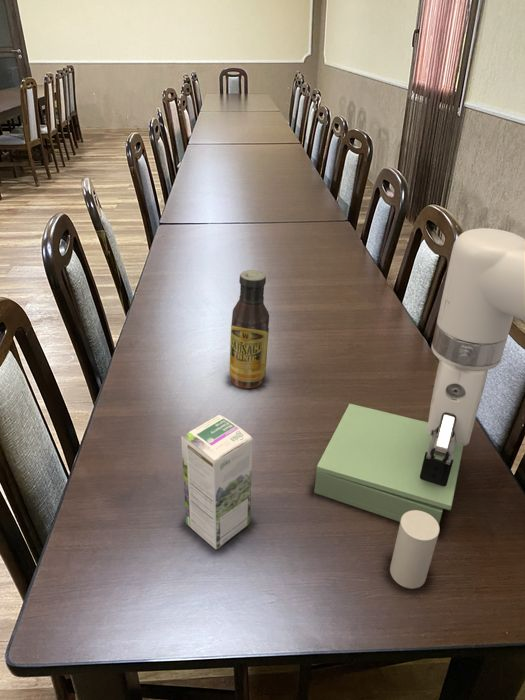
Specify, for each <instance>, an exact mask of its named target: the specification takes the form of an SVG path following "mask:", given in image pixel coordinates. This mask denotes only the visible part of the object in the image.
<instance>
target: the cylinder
mask: <svg viewBox="0 0 525 700" xmlns="http://www.w3.org/2000/svg"><path fill="white" fill-rule="evenodd" d="M440 531H441V530H440V524H439V525H438V523H437V521H436V520H435V519H434V518H433V517H432V516H431V515H429V514H428V513H426V512H423V511H418V510H412V511H408V512H406V513H405V514H404V515H403V516H402V518H401V521H400V522H399V526H398V530H397V534H396V540H395V543H394V547H393V553H392V557H391V561H390V566H389V573H390V575H391V578H392V579H393V580H394V581H395V583H397V584H398V585H400V586H401V587H403V588H406V589H419V588H421V587H422V586H424V584H425V582H426V580H427V577H428V573H429V570H430V566H431V563H432V559H433V555H434V552H435V548H436V545H437V541H438V538H439V534H440Z"/></svg>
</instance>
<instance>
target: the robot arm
mask: <svg viewBox="0 0 525 700" xmlns="http://www.w3.org/2000/svg"><path fill="white" fill-rule="evenodd" d="M514 318H516V319H518V320H521V321H523V322H525V238H524V237H523V236H520V235H519V234H516V233H513V232H511V231H507V230H502V229H499V228H488V227H487V228H485V227H482V228H480V227H479V228H473V229H468V230H464V231H463V232H462V233H460V234H459V235H458V236H457V237H456V239H455V241H454V242H453V246H452V250H451V255H450V259H449V263H448V267H447V272H446V277H445V281H444V286H443V290H442V296H441V300H440V305H439V309H438V314H437V319H436V323H435V326H434V331H433V338H432V342H431V347H430V348H431V352H432V353H433V355H434V356H435V357H436V358H437V359H438V360H439V361H438V364H437V365H438V366H437V369H436V375H435V380H434V385H433V390H432V395H431V400H430V407H429V411H428V413H429V414H428V420H427V422H428V427H427V433H428V434H429V436H431V435H432V437H431V441H430V445H429V449H428V452H425V456H424V460H423V465H422V469H421V473H420V479H421V480H424V481H428V482H431V483H434V484H437V485H440V486H446V485H447V482H448V478H449V475H450V471H451V467H452V464H453V459H452V456H453V452H454V448H455V443H456V441H457V443H458V444H461V445H463V447H466V446H467V445H469V444H470V440H471V437H472V433H473V429H474V426H475V422H476V418H477V414H478V411H479V407H480V404H481V400H482V397H483V393H484V390H485V385H486V382H487V377H488V372H489V370H492V369H494V368H496V367H497V366H499V365H500V364H501V361H502V357H503V354H504V351H505V349H506V348H505V347H506V344H507V341H508V337H509V334H510V330H511V327H512V324H513V320H514ZM439 427H440V428H441V429H440V433H438V430H439ZM452 431H453V435H452V437H451V432H452ZM436 438H438V441H437V444H436V448H434V444H435V440H436ZM449 442H451V443H450V447H449V451H447V448H448V444H449ZM433 448H434V449H433Z"/></svg>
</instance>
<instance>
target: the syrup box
mask: <svg viewBox="0 0 525 700" xmlns="http://www.w3.org/2000/svg"><path fill="white" fill-rule="evenodd" d="M180 441H181V442H180V443H181V457H182V475H183V476H182V477H183V493H184V511H185V513H184V514H185V524H186V525H187V526H188V527H190V529H192V530H193V531H194V532H195V533H196V534H197V535H198V536H199V537H200V538H202V539H203V540H204V541H205V542H206V543H207V544H208V545H210V546H211V547H212V548H213V549H215V550H216V551H217V550H219V549H221V548H222V547H223V546H224V545H226V543H228V542H229V541H230V540H232V539H233V538H234V537H235V536H237V535H238V534H239V533H241V532H242V531H243V530H244V529H245V528H247V527H248V526H249V525H250V524H251V505H252V482H253V481H252V478H253V451H254V450H253V449H254V438H253V436H251V435H250V434H249V433H247V431H245V430H244V429H242V428H241V427H240V426H238V425H237V424H236V423H234V422H233V421H231V420H230V419H228V418H226V417H225V416H223V415H221V414H217V415H216V416H214V417H212V418H211V419H209V420H207V421H206V422H204V423H202V424H201V425H198V426H197V427H195V428H194V429H192V430H190V431H188V432H186V433H184V434H183V435H181V436H180Z"/></svg>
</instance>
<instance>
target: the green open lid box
mask: <svg viewBox="0 0 525 700" xmlns="http://www.w3.org/2000/svg"><path fill="white" fill-rule="evenodd" d="M313 492H314V494H316V495H319V496H323V497H326V498H329V499H331V500H334V501H338V502H341V503H343V504H346V505H349V506H351V507H355V508H358V509H360V510H363V511H367V512H370V513H372V514H376V515H378V516H381V517H384V518H387V519H391V520H393V521H396V522H398V523H400V521H401V518H402V516H403V515H404V514H405V513H406V512H408V511H412V510H418V511H423V512H426V513H428V514H429V515H431V516H432V517H433V518H434V519H435V520H436V521H437V523H438V525H439V526H440V523H441V520H442V515H443V510H444V508H441V507H437V506H434V505H430V504H427V503H424V502H420V501H417V500H414V499H410V498H407V497H403V496H400V495H397V494H393V493H390V492H387V491H383V490H380V489H376V488H373V487H370V486H366V485H363V484H360V483H356V482H353V481H350V480H346V479H343V478H339V477H336V476H333V475H329V474H326V473H323V472H319V471H317V470H316V473H315V483H314V491H313Z"/></svg>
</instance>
